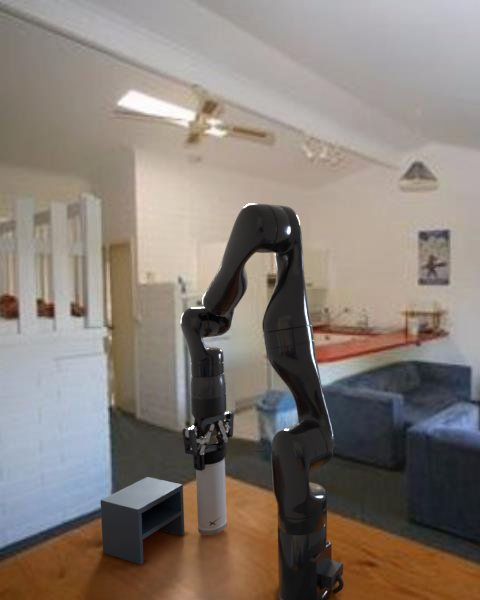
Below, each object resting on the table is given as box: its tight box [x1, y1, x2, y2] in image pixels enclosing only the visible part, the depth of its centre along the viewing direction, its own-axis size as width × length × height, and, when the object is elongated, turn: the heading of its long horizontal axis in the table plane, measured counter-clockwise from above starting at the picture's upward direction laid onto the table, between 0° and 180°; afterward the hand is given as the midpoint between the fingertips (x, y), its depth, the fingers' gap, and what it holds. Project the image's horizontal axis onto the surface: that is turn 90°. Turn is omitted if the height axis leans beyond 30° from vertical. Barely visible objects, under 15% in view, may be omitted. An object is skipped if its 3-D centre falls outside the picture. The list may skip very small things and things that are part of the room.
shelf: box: [99, 476, 186, 565], centre depth 107 cm, size 11×12×12 cm
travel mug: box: [195, 442, 228, 536], centre depth 111 cm, size 6×7×20 cm
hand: (210, 463), depth 111 cm, fingers closed on travel mug, 6 cm apart
